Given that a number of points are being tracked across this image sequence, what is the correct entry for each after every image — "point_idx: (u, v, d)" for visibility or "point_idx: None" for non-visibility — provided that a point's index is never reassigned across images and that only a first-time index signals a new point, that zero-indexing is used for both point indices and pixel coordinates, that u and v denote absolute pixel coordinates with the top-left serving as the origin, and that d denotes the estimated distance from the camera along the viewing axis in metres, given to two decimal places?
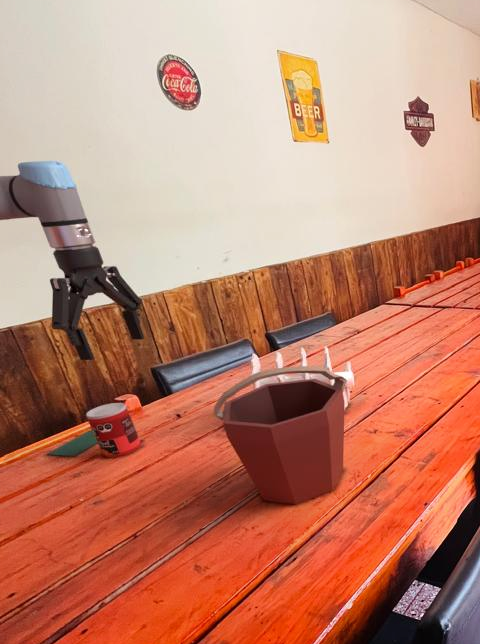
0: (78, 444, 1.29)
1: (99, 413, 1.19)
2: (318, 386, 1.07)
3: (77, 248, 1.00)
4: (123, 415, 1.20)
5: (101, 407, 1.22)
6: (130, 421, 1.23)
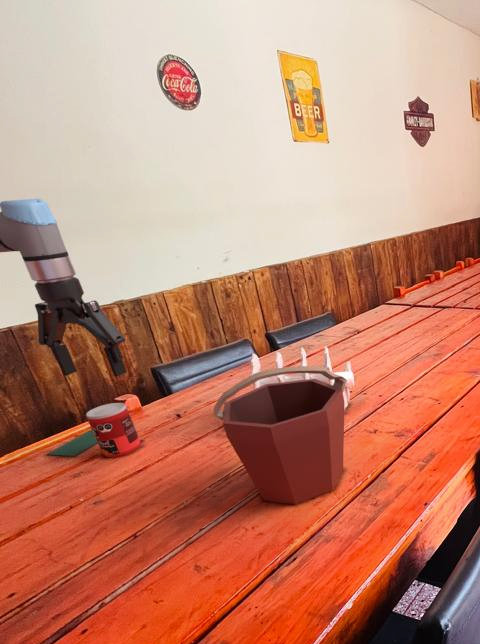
0: (78, 444, 1.29)
1: (99, 413, 1.19)
2: (318, 386, 1.07)
3: None
4: (123, 415, 1.20)
5: (101, 407, 1.22)
6: (130, 421, 1.23)
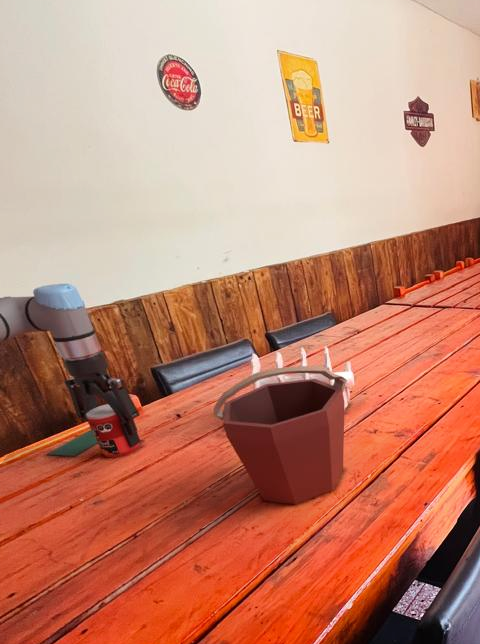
0: (78, 444, 1.29)
1: (99, 413, 1.19)
2: (318, 386, 1.07)
3: (98, 351, 1.16)
4: None
5: (101, 407, 1.22)
6: None
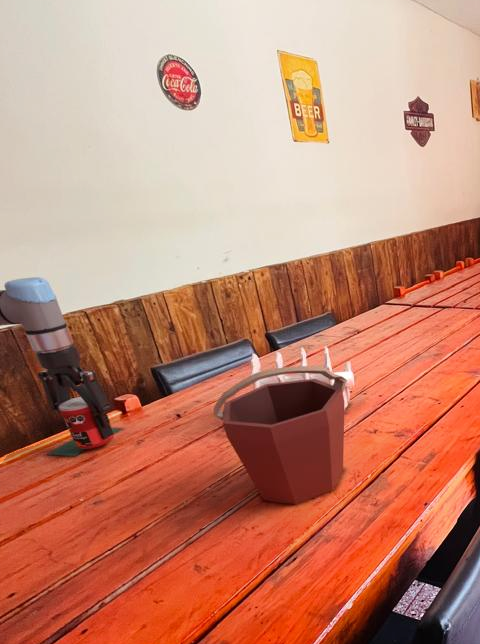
0: None
1: (72, 405, 1.21)
2: (318, 386, 1.07)
3: (71, 344, 1.18)
4: None
5: (74, 399, 1.24)
6: None
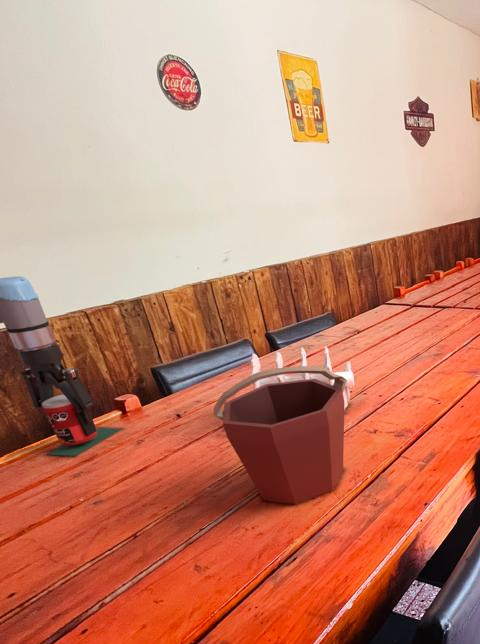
0: (78, 444, 1.29)
1: (55, 402, 1.23)
2: (318, 386, 1.07)
3: (53, 342, 1.20)
4: None
5: (58, 397, 1.26)
6: None
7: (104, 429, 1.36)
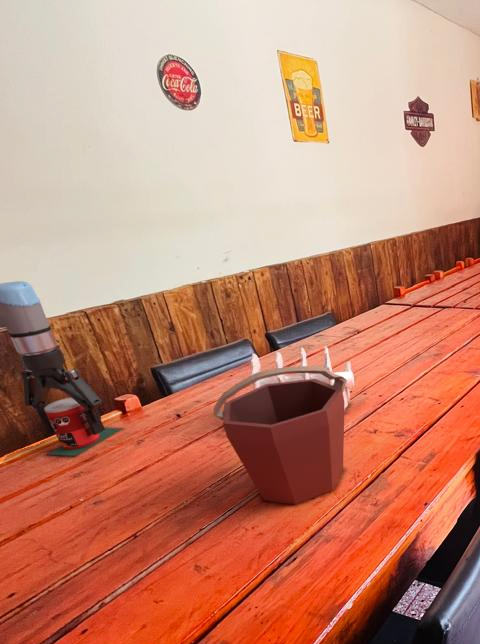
0: None
1: (57, 407, 1.23)
2: (318, 386, 1.07)
3: (55, 347, 1.20)
4: (80, 409, 1.25)
5: (60, 401, 1.26)
6: None
7: None
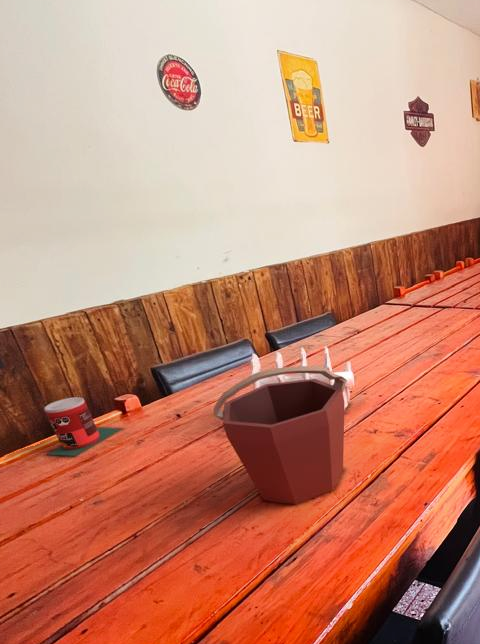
0: None
1: (57, 407, 1.23)
2: (318, 386, 1.07)
3: None
4: (80, 409, 1.25)
5: (60, 401, 1.26)
6: (88, 415, 1.27)
7: (104, 429, 1.36)
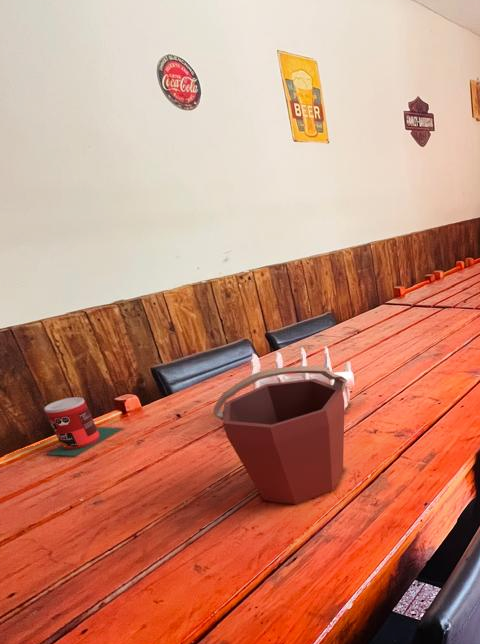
0: None
1: (57, 407, 1.23)
2: (318, 386, 1.07)
3: None
4: (80, 409, 1.25)
5: (60, 401, 1.26)
6: (88, 415, 1.27)
7: (104, 429, 1.36)
